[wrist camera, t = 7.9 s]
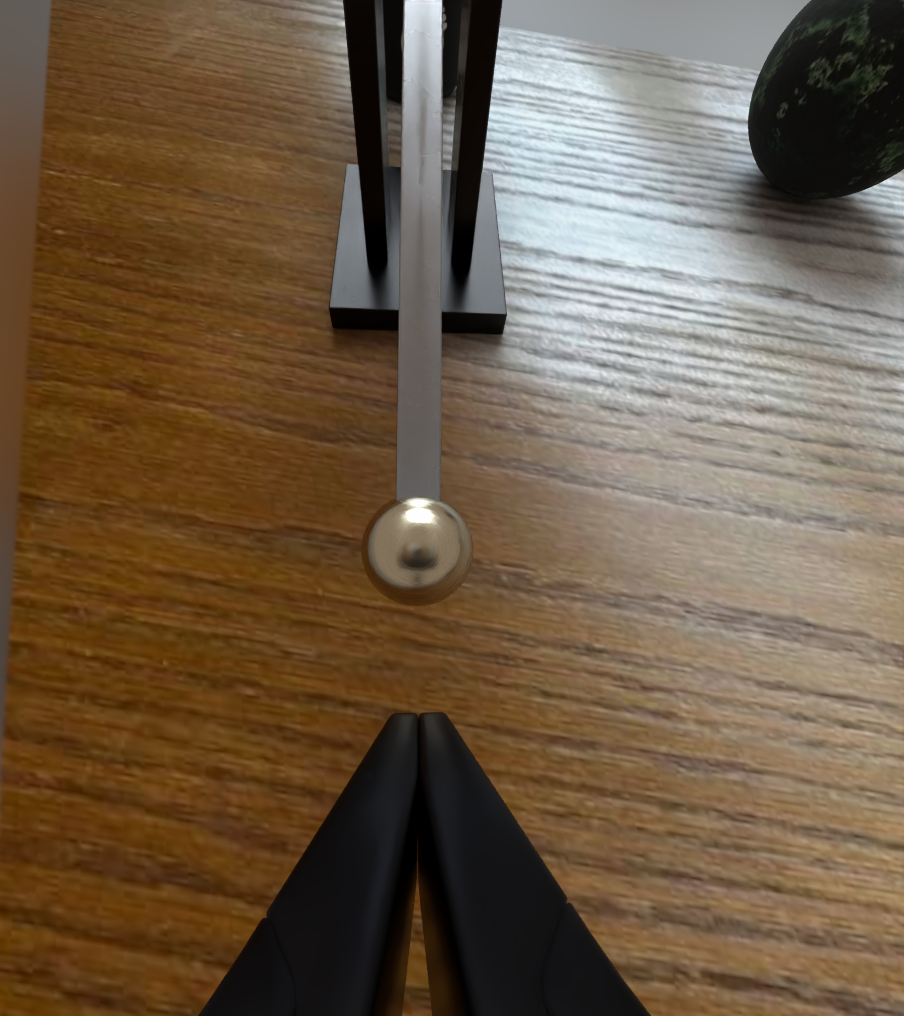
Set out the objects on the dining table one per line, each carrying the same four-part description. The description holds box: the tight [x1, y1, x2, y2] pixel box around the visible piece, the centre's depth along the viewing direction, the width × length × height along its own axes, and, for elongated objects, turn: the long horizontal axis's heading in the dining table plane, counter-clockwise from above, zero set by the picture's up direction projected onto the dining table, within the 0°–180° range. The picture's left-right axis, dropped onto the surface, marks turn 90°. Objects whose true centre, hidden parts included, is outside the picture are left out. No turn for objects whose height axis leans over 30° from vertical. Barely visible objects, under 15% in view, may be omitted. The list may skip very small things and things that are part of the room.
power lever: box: [361, 0, 473, 606], centre depth 14 cm, size 23×3×3 cm, turn 1°
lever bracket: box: [329, 0, 507, 334], centre depth 19 cm, size 11×8×14 cm
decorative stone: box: [748, 0, 904, 199], centre depth 27 cm, size 10×10×10 cm
